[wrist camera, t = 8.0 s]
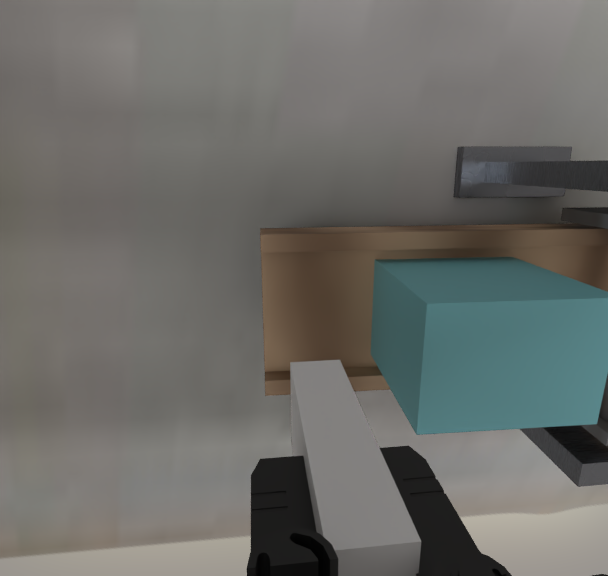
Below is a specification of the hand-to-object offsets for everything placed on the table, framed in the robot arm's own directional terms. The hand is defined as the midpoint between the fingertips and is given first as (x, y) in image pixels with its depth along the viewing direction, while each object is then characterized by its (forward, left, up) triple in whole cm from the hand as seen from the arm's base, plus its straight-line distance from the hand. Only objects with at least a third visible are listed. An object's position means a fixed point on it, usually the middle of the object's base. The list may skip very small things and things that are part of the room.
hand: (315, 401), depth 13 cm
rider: (+8, 0, -8) cm, 11 cm away
